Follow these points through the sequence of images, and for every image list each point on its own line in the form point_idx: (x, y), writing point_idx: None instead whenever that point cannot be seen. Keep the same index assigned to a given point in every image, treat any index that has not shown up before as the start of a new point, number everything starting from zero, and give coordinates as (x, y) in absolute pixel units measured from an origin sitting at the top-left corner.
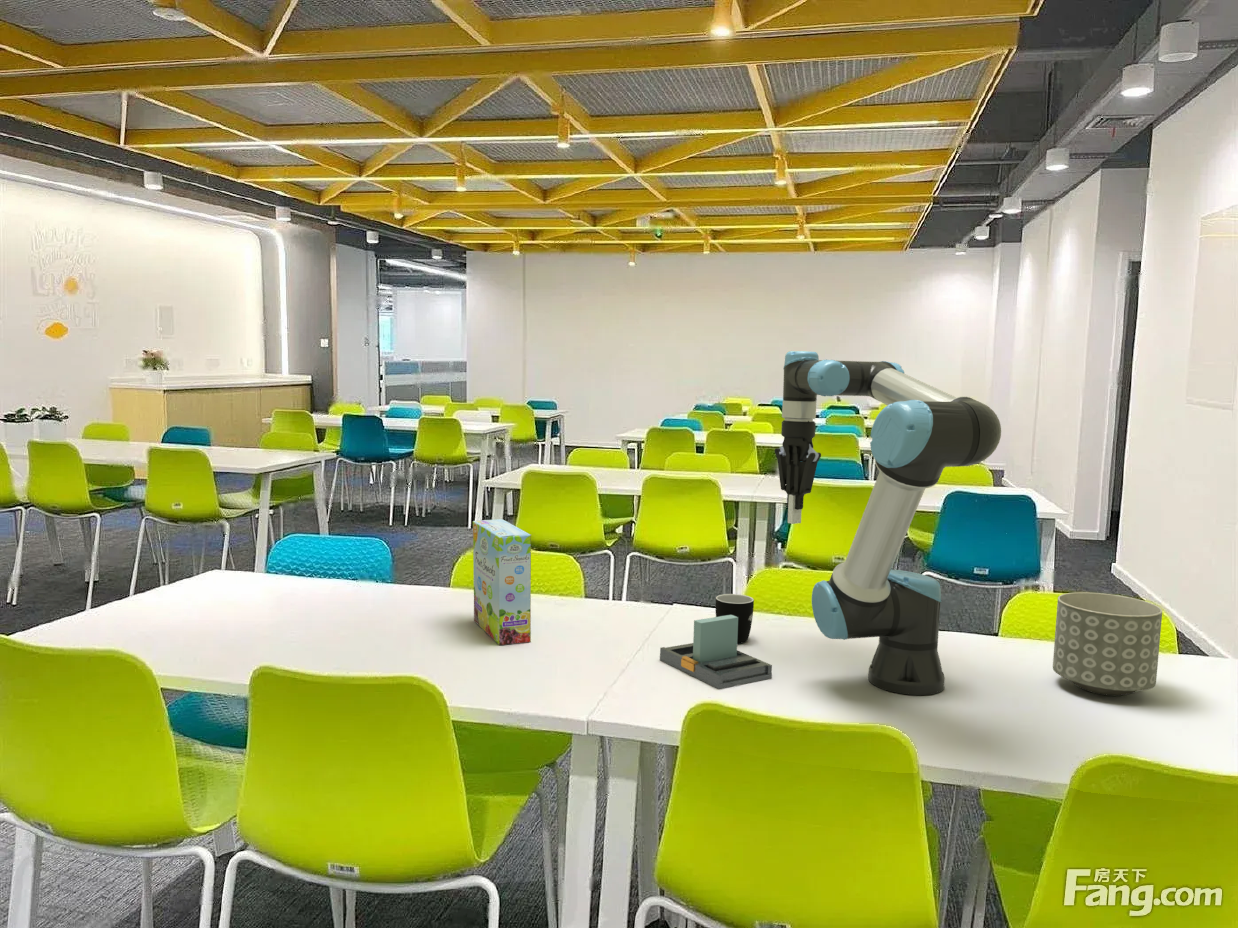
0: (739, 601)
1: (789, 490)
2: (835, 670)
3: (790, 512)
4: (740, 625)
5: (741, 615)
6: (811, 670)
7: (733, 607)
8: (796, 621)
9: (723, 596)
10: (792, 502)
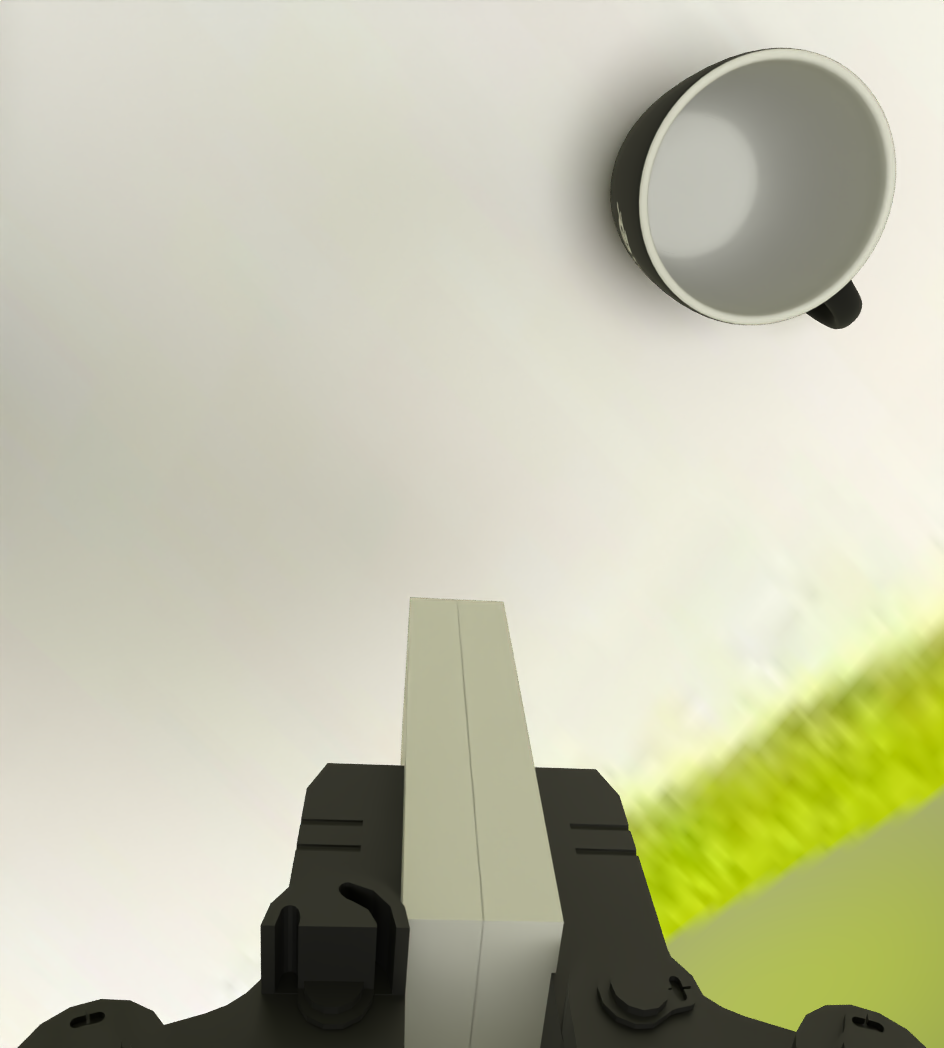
0: (792, 294)
1: (579, 1026)
2: (50, 265)
3: (461, 686)
4: (624, 144)
5: (633, 143)
6: (100, 157)
7: (679, 88)
8: (702, 677)
9: (877, 199)
10: (422, 802)
